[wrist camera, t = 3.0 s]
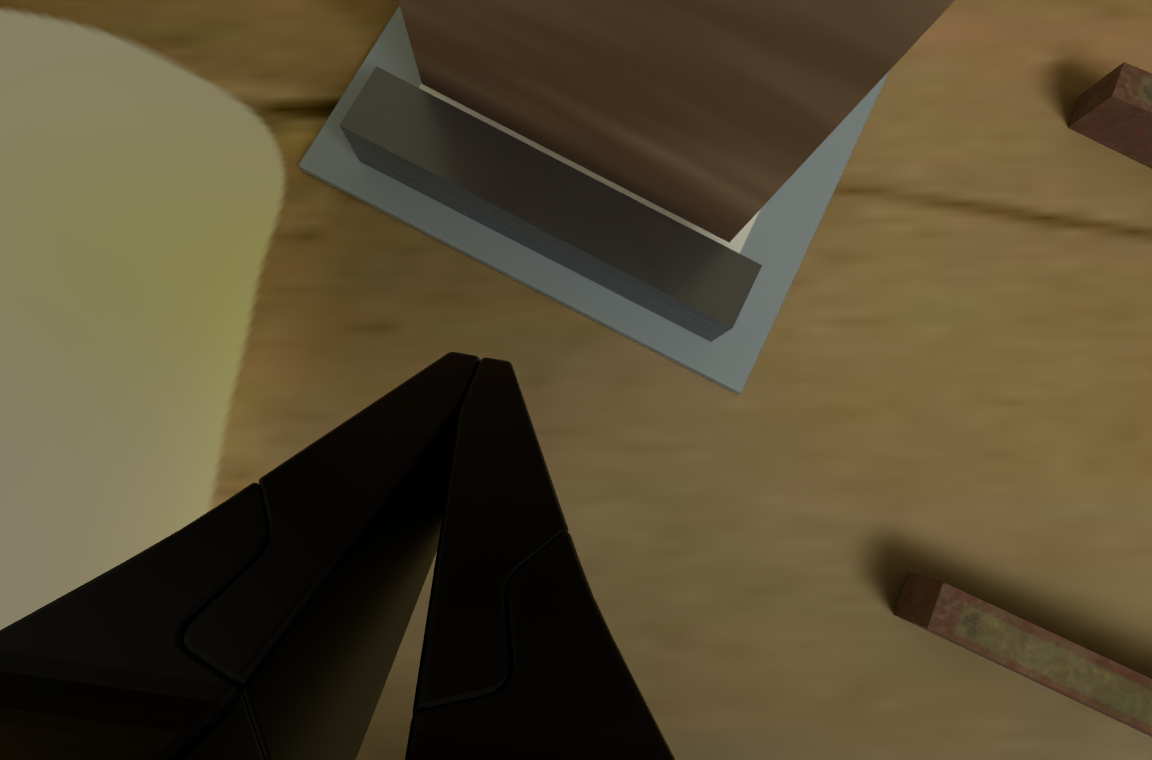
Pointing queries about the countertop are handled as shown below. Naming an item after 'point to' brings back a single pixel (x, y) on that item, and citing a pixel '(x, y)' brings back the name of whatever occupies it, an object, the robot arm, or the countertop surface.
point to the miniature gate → (1147, 135)
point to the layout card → (764, 239)
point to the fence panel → (669, 84)
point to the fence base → (548, 206)
